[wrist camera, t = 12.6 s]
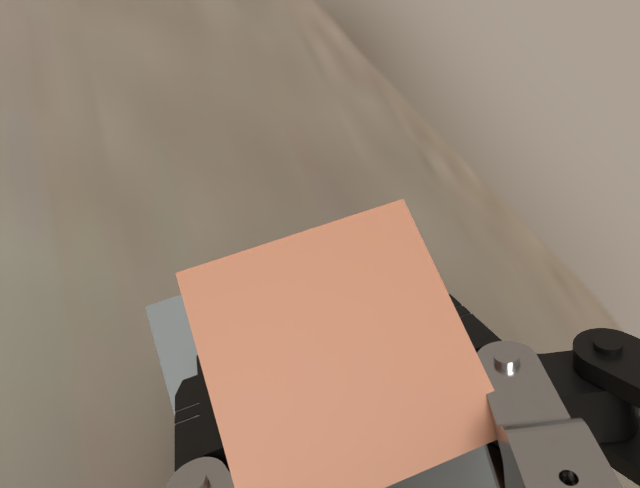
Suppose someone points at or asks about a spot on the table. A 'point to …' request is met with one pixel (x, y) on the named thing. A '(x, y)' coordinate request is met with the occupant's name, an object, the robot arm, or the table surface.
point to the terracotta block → (336, 357)
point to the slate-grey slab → (180, 363)
